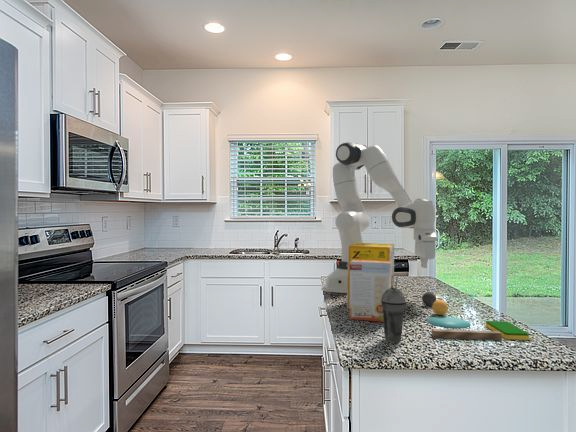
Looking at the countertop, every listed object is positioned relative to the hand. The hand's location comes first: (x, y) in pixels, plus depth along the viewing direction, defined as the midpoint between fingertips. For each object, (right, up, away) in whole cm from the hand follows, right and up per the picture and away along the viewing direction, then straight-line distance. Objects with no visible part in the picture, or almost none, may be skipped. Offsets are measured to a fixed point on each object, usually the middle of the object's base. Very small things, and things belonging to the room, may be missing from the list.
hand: (424, 267), depth 173 cm
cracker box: (-30, -15, -31) cm, 45 cm away
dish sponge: (+11, -16, -45) cm, 49 cm away
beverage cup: (-28, -15, -54) cm, 63 cm away
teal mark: (-3, -15, -34) cm, 37 cm away
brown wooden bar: (-5, -15, -51) cm, 53 cm away
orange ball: (-2, -12, -24) cm, 27 cm away
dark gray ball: (-1, -12, -9) cm, 15 cm away
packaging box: (-25, -15, -10) cm, 31 cm away
